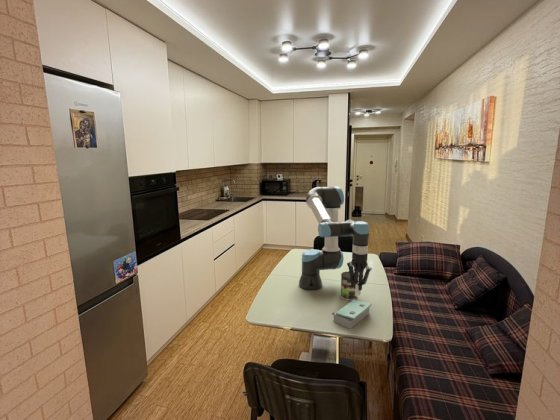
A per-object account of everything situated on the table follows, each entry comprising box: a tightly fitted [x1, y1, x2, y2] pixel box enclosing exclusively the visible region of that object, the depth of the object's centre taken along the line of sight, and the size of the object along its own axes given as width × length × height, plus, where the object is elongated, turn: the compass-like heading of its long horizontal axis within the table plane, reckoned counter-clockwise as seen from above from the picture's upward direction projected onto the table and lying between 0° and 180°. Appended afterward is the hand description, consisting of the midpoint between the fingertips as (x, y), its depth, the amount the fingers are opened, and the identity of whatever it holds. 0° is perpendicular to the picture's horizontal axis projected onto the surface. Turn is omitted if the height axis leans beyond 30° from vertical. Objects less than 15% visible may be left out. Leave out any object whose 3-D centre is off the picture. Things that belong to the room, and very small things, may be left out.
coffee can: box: [340, 271, 359, 301], centre depth 183 cm, size 10×10×14 cm
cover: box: [335, 299, 372, 319], centre depth 160 cm, size 11×19×1 cm, turn 137°
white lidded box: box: [331, 298, 371, 329], centre depth 161 cm, size 10×21×5 cm, turn 138°
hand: (357, 295), depth 157 cm, fingers closed
